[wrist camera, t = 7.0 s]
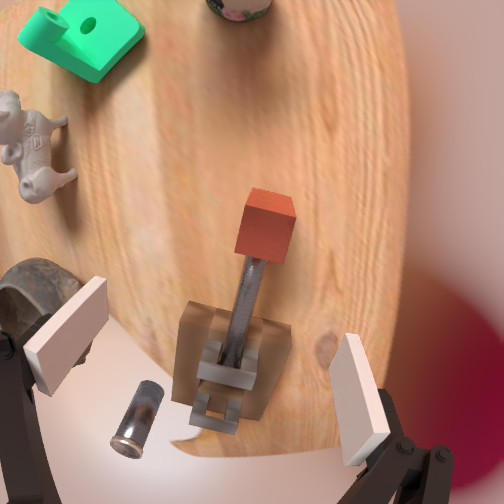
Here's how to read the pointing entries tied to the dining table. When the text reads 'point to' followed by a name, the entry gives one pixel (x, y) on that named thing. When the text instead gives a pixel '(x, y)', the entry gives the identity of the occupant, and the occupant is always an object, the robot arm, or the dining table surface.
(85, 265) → the dining table surface
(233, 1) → the decorative ornament
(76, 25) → the camera mount
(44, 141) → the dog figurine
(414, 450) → the robot arm
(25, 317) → the bowl
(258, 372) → the dock block
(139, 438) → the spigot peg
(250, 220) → the pin
